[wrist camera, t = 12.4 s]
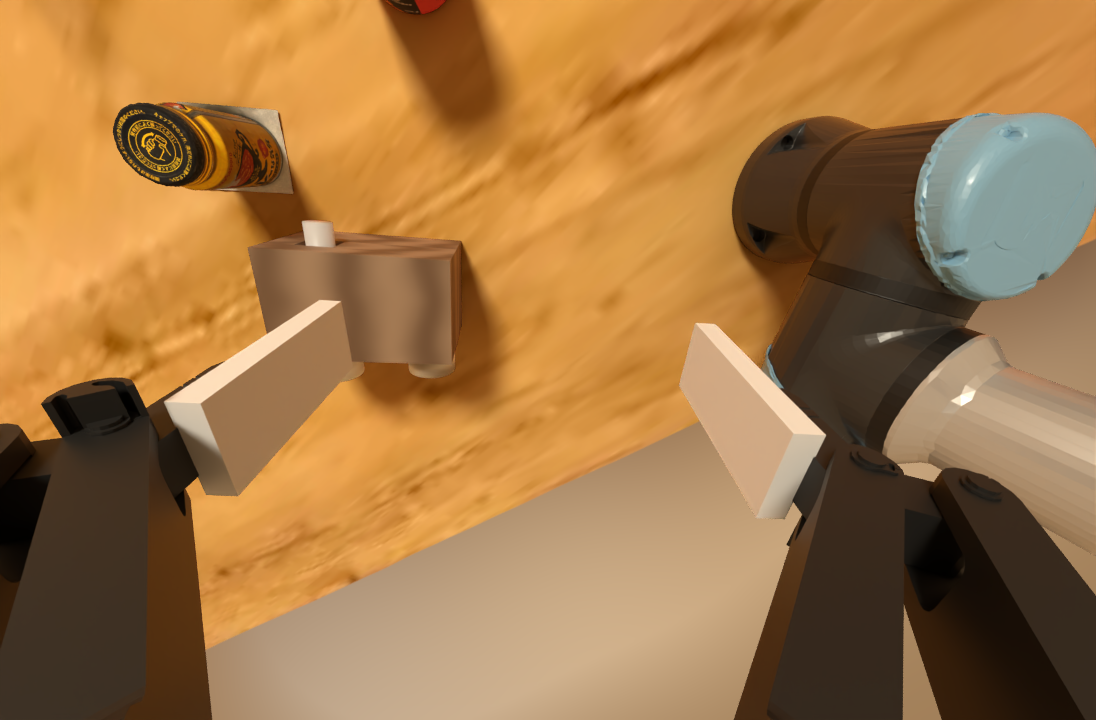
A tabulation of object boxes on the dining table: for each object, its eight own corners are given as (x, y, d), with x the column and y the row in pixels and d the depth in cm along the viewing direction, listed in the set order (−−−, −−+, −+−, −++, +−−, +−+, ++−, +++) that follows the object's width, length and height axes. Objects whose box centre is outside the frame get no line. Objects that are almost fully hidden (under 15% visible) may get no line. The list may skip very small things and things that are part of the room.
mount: (461, 241, 44) (450, 260, 34) (461, 345, 49) (452, 389, 39) (307, 229, 42) (247, 247, 32) (324, 340, 47) (278, 385, 37)
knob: (354, 221, 38) (335, 227, 33) (370, 364, 44) (356, 385, 40) (300, 217, 37) (274, 222, 33) (324, 363, 44) (305, 384, 39)
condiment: (294, 193, 40) (219, 201, 30) (203, 188, 39) (91, 194, 28) (278, 110, 37) (188, 85, 26) (179, 102, 36) (43, 72, 25)
